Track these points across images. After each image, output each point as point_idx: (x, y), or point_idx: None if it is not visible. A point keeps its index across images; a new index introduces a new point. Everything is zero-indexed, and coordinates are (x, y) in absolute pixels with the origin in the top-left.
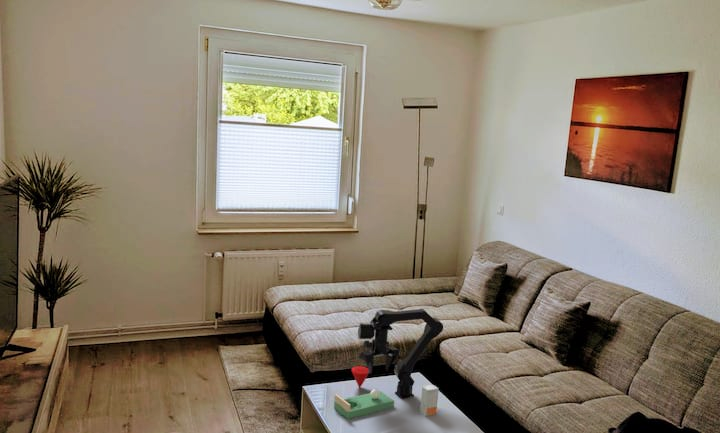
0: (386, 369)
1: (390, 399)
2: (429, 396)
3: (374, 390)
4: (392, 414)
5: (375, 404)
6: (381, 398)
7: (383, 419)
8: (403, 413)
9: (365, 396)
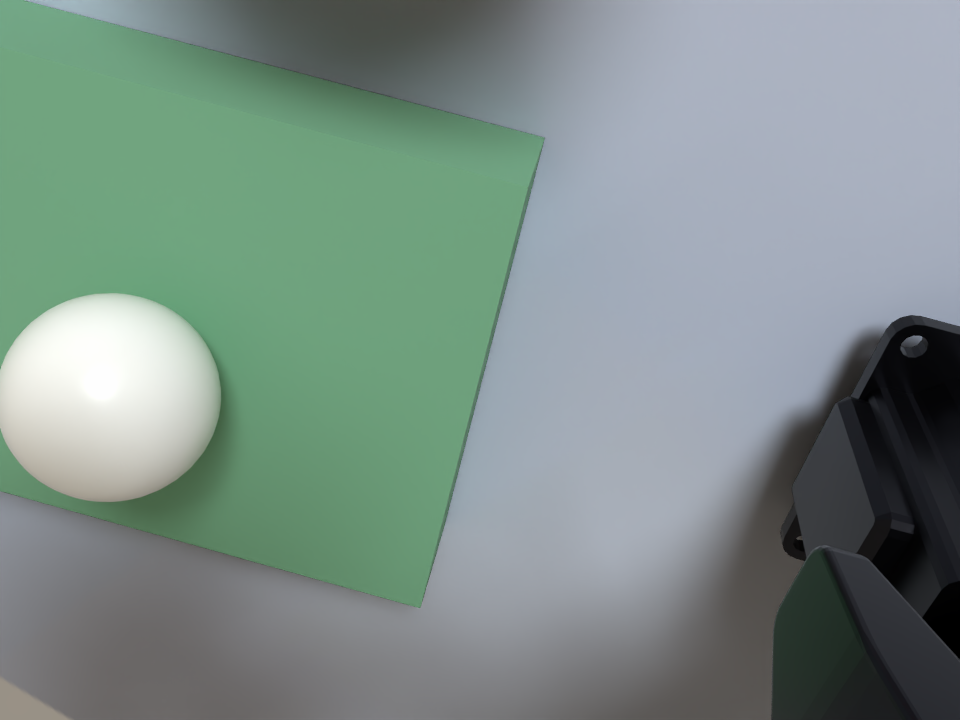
0: (800, 610)
1: (400, 549)
2: None
3: (29, 458)
4: (267, 609)
5: (39, 483)
6: (284, 428)
7: (76, 597)
8: (415, 682)
9: (44, 159)
